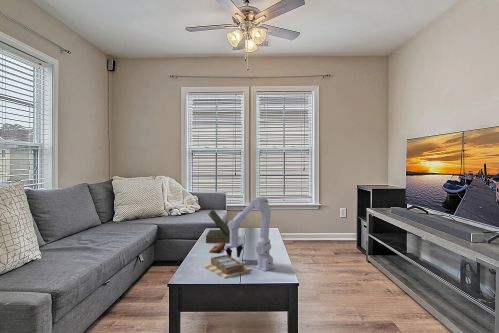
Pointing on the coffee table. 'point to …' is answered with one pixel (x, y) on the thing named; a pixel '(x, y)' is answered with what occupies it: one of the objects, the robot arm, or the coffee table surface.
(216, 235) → the green open lidded box
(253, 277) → the coffee table surface
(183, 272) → the coffee table surface
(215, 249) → the sweet potato
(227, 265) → the tan cardboard box
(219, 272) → the birch board
